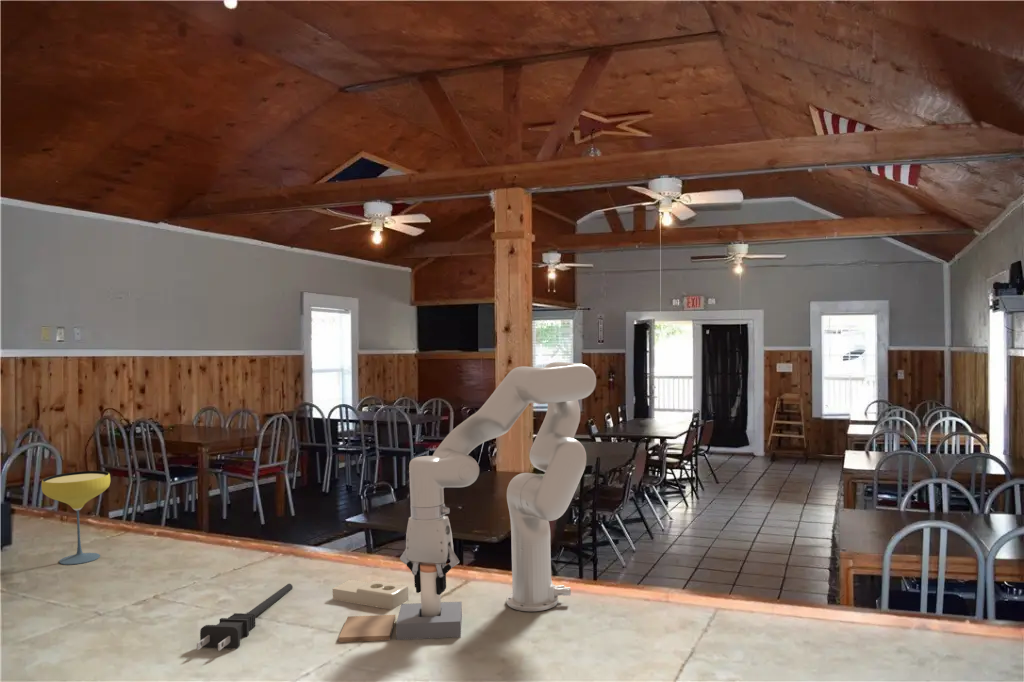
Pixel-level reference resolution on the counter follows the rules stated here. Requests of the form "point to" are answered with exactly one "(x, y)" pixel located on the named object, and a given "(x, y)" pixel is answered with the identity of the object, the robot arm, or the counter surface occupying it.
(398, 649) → the counter surface
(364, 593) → the electrical outlet
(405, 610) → the socket block
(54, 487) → the cocktail glass
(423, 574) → the plug
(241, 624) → the electrical plug
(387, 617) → the board
